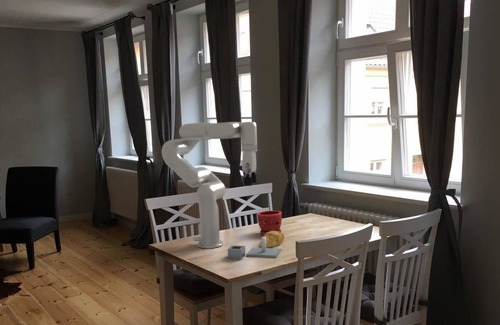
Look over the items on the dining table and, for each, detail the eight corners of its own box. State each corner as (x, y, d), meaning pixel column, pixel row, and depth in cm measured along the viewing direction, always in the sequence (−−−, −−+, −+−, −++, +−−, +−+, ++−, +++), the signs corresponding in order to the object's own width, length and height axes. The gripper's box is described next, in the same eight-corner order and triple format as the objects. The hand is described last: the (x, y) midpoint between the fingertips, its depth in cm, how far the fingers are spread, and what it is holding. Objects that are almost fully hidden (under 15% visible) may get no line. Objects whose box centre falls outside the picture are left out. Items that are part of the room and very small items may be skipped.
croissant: (266, 257, 218) (272, 244, 215) (250, 245, 223) (256, 232, 220) (287, 245, 236) (293, 232, 233) (272, 234, 240) (277, 222, 237)
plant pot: (282, 230, 254) (281, 209, 253) (281, 237, 241) (281, 214, 240) (259, 231, 255) (258, 210, 254) (257, 237, 242) (256, 215, 241)
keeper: (246, 256, 209) (245, 240, 208) (252, 249, 220) (252, 234, 219) (276, 257, 205) (275, 241, 205) (281, 250, 216) (280, 235, 215)
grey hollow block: (228, 258, 206) (227, 249, 205) (232, 254, 212) (231, 245, 212) (241, 259, 204) (241, 249, 204) (245, 255, 210) (245, 245, 210)
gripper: (245, 147, 224) (247, 181, 226) (237, 149, 207) (238, 186, 209) (260, 146, 222) (262, 181, 224) (253, 149, 206) (254, 186, 207)
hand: (250, 183), depth 216 cm, fingers open, 9 cm apart
